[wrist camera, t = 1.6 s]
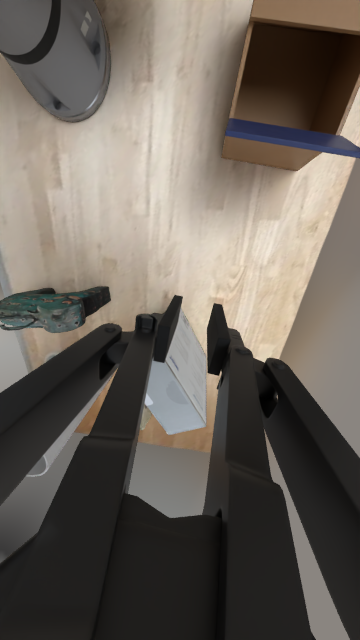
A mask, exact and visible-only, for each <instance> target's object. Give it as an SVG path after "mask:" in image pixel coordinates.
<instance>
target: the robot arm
mask: <svg viewBox="0 0 360 640" xmlns="http://www.w3.org/2000/svg"><path fill="white" fill-rule="evenodd" d="M0 53H2V54H3V56H4V57H5V59H6V60H7V62H8V63H9V65H10V66H11V67H12V69H13V70H14V72H15V73H16V75H17V76H18V77H19V79H20V80H21V82H22V83H23V85H24V86H25V88H26V89H27V90H28V92H29V93H30V94H31V95H32V96H33V98H34V99H35V100H36V101H37V102H38V103H39V104H40V105H41V106H42V107H43V108H45V109H46V110H47V111H48V112H50V113H51V114H52V115H54V116H55V117H57V118H59V119H61V120H64V121H68V122H78V121H82V120H84V119H86V118H88V117H90V116H91V115H92V114H93V113H94V112H95V111H96V110H97V109H98V107H99V106H100V104H101V103H102V101H103V99H104V97H105V94H106V91H107V88H108V84H109V78H110V69H111V56H110V46H109V40H108V35H107V31H106V28H105V25H104V22H103V19H102V17H101V15H100V12H99V10H98V8H97V6H96V4H95V2H94V0H0ZM182 298H183V297H182V296H177V295H175V296H174V297H173V299H172V301H171V303H170V305H169V306H168V308H167V310H166V312H165V314H164V315H163V314H158V313H153V314H139V315H137V316H136V325H135V330H134V331H133V332H122V328H121V327H120V326H119V325H117V324H113V323H111V324H110V323H108V324H103V325H101V326H99V327H98V328H96V329H95V330H93V331H92V332H90V333H89V334H88V335H86V336H85V337H83V338H82V339H80V340H79V341H77V342H76V343H74V344H73V345H71V346H70V347H68V348H67V349H65V350H64V351H62V352H61V353H59V354H58V355H56V356H55V357H53V358H52V359H50V360H49V361H47V362H46V363H44V364H43V365H41V366H40V367H38V368H37V369H35V370H34V371H32V372H31V373H29V374H28V375H26V376H25V377H23V378H22V379H20V380H19V381H18V382H16V383H14V384H13V385H11V386H10V387H9V388H7V389H5V390H4V391H3V392H1V393H0V505H1V504H2V503H3V502H4V501H5V500H6V499H7V497H8V496H9V495H10V494H11V493H12V492H13V490H14V489H15V488H16V487H17V486H18V485H19V483H20V482H21V481H22V480H23V479H24V477H25V476H26V475H27V474H28V473H29V472H30V470H31V469H32V468H33V467H34V466H35V465H36V463H37V462H38V461H39V460H40V459H41V457H42V456H43V455H44V454H45V453H46V452H47V450H48V449H49V448H50V447H51V446H52V445H53V443H54V442H55V441H56V440H57V439H58V438H59V436H60V435H61V434H62V433H63V432H64V430H65V429H66V428H67V427H68V426H69V425H70V423H71V422H72V421H73V420H74V419H75V418H76V416H77V415H78V414H79V413H80V412H81V410H82V409H83V408H84V407H85V406H86V405H87V403H88V402H89V401H90V400H91V399H92V398H93V396H94V395H95V394H96V393H97V392H98V390H99V389H100V388H101V387H102V386H103V385H104V383H105V382H106V381H107V380H108V379H109V378H110V376H111V375H112V374H113V373H114V372H115V371H116V369H117V368H118V370H117V372H116V374H115V376H114V379H113V381H112V383H111V386H110V388H109V390H108V393H107V395H106V397H105V400H104V402H103V404H102V407H101V409H100V411H99V414H98V416H97V418H96V421H95V423H94V425H93V428H92V430H91V432H90V434H89V435H88V436H85V437H83V439H82V440H81V441H80V443H79V445H78V447H77V449H76V451H75V453H74V455H73V458H72V460H71V462H70V464H69V466H68V468H67V471H66V473H65V475H64V477H63V479H62V481H61V483H60V486H59V488H58V490H57V492H56V494H55V496H54V499H53V501H52V503H51V505H50V507H49V510H48V512H47V514H46V516H45V518H44V520H43V522H42V525H41V527H40V529H39V531H38V533H36V534H35V535H34V536H33V537H32V538H30V539H29V540H28V541H27V542H25V543H24V544H23V545H22V546H21V547H20V548H18V549H17V550H16V551H15V552H13V553H12V554H11V555H10V556H9V557H7V558H6V559H5V560H4V561H3V562H1V563H0V640H316V639H315V637H314V636H313V634H312V632H311V630H310V625H309V620H308V615H307V609H306V604H305V599H304V594H303V589H302V584H301V579H300V573H299V568H298V563H297V558H296V553H295V547H294V542H293V537H292V532H291V527H290V522H289V516H288V511H287V506H286V501H285V497H284V494H283V490H282V489H281V487H280V485H278V484H276V483H274V482H273V480H272V477H271V473H270V466H269V460H268V453H267V447H266V440H265V433H264V429H265V432H266V434H267V437H268V439H269V442H270V444H271V447H272V449H273V452H274V455H275V457H276V460H277V462H278V465H279V467H280V470H281V472H282V474H283V477H284V480H285V482H286V484H287V487H288V490H289V492H290V495H291V497H292V500H293V502H294V505H295V507H296V510H297V512H298V515H299V517H300V520H301V523H302V525H303V528H304V530H305V532H306V535H307V538H308V540H309V543H310V545H311V548H312V550H313V553H314V555H315V558H316V560H317V563H318V565H319V568H320V570H321V573H322V576H323V578H324V580H325V583H326V586H327V588H328V591H329V593H330V595H331V598H332V599H333V602H334V604H335V607H336V609H337V612H338V614H339V616H340V619H341V621H342V623H343V626H344V628H345V630H346V632H347V634H348V636H349V638H350V640H360V458H359V457H358V455H357V454H356V453H355V451H354V450H353V449H352V448H351V446H350V445H349V444H348V442H347V441H346V440H345V438H344V437H343V436H342V435H341V433H340V432H339V431H338V429H337V428H336V427H335V426H334V424H333V423H332V422H331V420H330V419H329V418H328V417H327V415H326V414H325V413H324V411H323V410H322V409H321V407H320V406H319V405H318V404H317V402H316V401H315V400H314V398H313V397H312V396H311V395H310V393H309V392H308V391H307V389H306V388H305V387H304V386H303V384H302V383H301V382H300V380H299V379H298V378H297V376H296V375H295V374H294V373H293V371H292V370H291V369H290V367H289V366H288V365H287V364H285V363H284V362H283V361H281V360H279V359H275V358H267V359H266V362H265V363H264V362H262V361H259V360H257V359H255V358H253V354H252V352H251V351H250V350H249V349H248V348H246V347H244V344H243V341H242V338H241V336H240V333H239V332H238V331H237V330H235V329H231V328H228V327H227V323H226V319H225V315H224V311H223V307H222V305H220V304H215V303H214V305H213V309H212V312H211V316H210V320H209V324H208V327H207V362H208V373H209V374H214V375H218V376H219V374H220V371H222V375H221V378H220V381H219V383H218V386H217V389H219V390H218V398H217V406H216V415H215V423H214V431H213V439H212V448H211V456H210V464H209V473H208V481H207V489H206V497H205V505H204V509H203V513H202V515H197V516H188V517H178V518H169V517H167V516H165V515H164V514H162V513H161V512H159V511H158V510H156V509H155V508H154V507H152V506H151V505H149V504H148V503H146V502H145V501H143V500H142V499H140V498H139V497H137V496H134V495H130V494H128V490H129V484H130V478H131V473H132V468H133V462H134V457H135V452H136V446H137V441H138V435H139V430H140V425H141V419H142V414H143V409H144V403H145V398H146V392H147V387H148V382H149V376H150V371H151V366H152V359H153V357H154V359H153V361H156V362H161V363H165V360H166V357H167V354H168V351H169V348H170V345H171V342H172V339H173V336H174V333H175V330H176V327H177V324H178V320H179V314H180V309H181V304H182ZM277 395H278V399H277Z"/></svg>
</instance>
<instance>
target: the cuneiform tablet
mask: <svg viewBox="0 0 360 640" xmlns="http://www.w3.org/2000/svg"><path fill="white" fill-rule="evenodd" d="M151 415H152V413H151V411H150V410H149V408H148V407H147V406H146V405H145V403H144V409H143V414H142V419H141V425H140V430H143V429H144V428H145V426H146V424H147V422H148V421H149V419H150V418H151Z"/></svg>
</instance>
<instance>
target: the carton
mask: <svg viewBox="0 0 360 640" xmlns="http://www.w3.org/2000/svg"><path fill="white" fill-rule="evenodd" d="M359 87H360V0H253V5H252V10H251V15H250V19H249V24H248V29H247V34H246V39H245V43H244V48H243V53H242V58H241V62H240V67H239V72H238V77H237V81H236V86H235V91H234V96H233V101H232V105H231V110H230V115H229V118H233V119H240V120H246V121H252V122H258V123H264V124H271V125H277V126H283V127H289V128H295V129H302V130H308V131H314V132H320V133H326V134H332V135H339V136H340V133H341V131H342V128H343V126H344V123H345V121H346V119H347V116H348V114H349V111H350V109H351V106H352V104H353V101H354V99H355V96H356V94H357V91H358V89H359ZM228 121H229V120H228ZM320 153H322V152H319V151H313V150H307V149H301V148H295V147H289V146H283V145H277V144H271V143H265V142H259V141H253V140H247V139H241V138H235V137H229V136H225V141H224V146H223V151H222V156H221V158H224V159H230V160H236V161H242V162H248V163H253V164H259V165H265V166H271V167H277V168H283V169H288V170H294V171H298V170H299V169H300V168H302V167H303V166H304V165H306V164H307V163H308V162H310V161H311V160H312V159H314V158H315V157H316V156H318V155H319V154H320Z"/></svg>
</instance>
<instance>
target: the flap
mask: <svg viewBox="0 0 360 640" xmlns="http://www.w3.org/2000/svg"><path fill="white" fill-rule="evenodd" d="M225 136H229V137H235V138H241V139H247V140H253V141H259V142H265V143H271V144H277V145H283V146H289V147H295V148H301V149H307V150H313V151H319V152H325V153H331V154H337V155H343V156H349V157H355V158H360V148H359V147H357V146H356V145H354V144H353V143H351V142H350V141H349V140H347V139H346V138H344V137H343V136H339V135H332V134H326V133H320V132H314V131H308V130H302V129H295V128H289V127H283V126H277V125H271V124H264V123H258V122H252V121H246V120H240V119H233V118H229V121H228V124H227V128H226V132H225Z"/></svg>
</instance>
